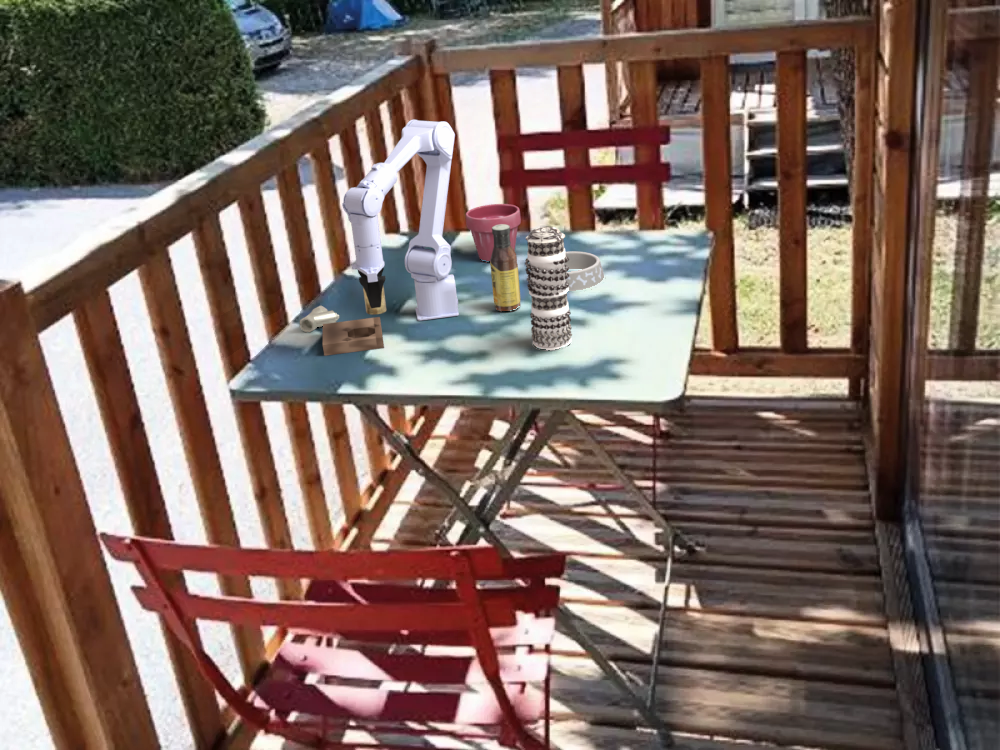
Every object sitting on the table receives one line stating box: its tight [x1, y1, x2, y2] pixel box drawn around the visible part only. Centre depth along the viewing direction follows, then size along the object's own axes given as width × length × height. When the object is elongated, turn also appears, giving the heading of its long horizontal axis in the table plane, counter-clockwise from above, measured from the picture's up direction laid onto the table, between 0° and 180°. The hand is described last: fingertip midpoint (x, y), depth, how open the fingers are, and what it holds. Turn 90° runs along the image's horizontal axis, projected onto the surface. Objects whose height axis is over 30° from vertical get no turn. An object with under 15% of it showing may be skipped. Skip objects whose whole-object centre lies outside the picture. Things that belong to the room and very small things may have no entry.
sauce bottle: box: [489, 224, 521, 312], centre depth 259 cm, size 7×6×20 cm
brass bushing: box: [362, 285, 387, 316], centre depth 246 cm, size 4×4×6 cm
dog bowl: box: [564, 250, 605, 291], centre depth 276 cm, size 17×18×5 cm
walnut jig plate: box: [322, 316, 385, 357], centre depth 251 cm, size 13×13×2 cm
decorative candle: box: [524, 226, 573, 351], centre depth 236 cm, size 9×9×25 cm
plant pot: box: [465, 203, 522, 261], centre depth 296 cm, size 14×14×13 cm
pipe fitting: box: [299, 305, 340, 333], centre depth 261 cm, size 8×4×7 cm
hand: (375, 303), depth 246 cm, fingers closed on brass bushing, 4 cm apart
